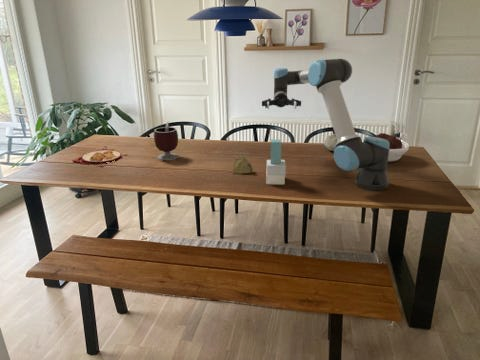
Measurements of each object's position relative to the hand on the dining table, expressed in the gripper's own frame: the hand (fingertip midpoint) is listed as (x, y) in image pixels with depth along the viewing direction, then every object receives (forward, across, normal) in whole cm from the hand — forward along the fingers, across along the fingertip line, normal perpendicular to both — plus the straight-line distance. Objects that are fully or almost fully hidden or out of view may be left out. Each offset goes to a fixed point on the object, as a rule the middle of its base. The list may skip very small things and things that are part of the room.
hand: (281, 106), depth 190 cm
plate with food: (-21, +106, -35) cm, 114 cm away
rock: (0, +20, -35) cm, 41 cm away
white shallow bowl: (-25, -60, -36) cm, 74 cm away
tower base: (+12, +3, -36) cm, 38 cm away
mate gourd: (-24, +67, -35) cm, 79 cm away
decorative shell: (-42, -37, -35) cm, 66 cm away
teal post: (+12, +3, -26) cm, 28 cm away
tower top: (+12, +3, -30) cm, 33 cm away
